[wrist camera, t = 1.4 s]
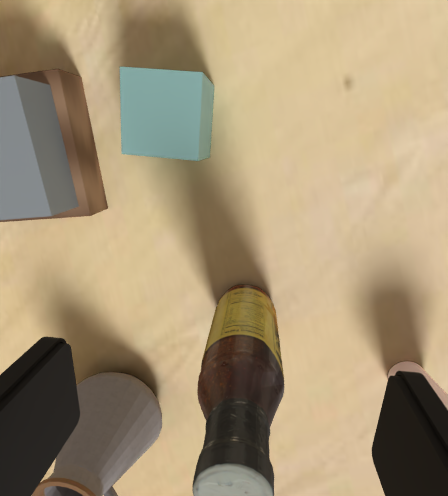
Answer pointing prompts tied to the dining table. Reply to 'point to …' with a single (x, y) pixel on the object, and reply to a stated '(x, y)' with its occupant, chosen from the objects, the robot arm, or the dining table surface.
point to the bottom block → (74, 141)
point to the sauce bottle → (239, 396)
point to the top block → (32, 153)
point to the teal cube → (166, 113)
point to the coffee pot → (105, 436)
